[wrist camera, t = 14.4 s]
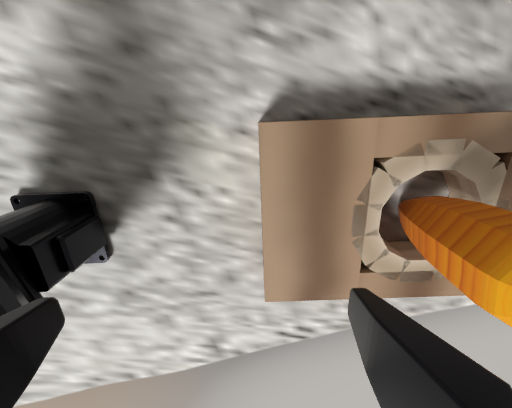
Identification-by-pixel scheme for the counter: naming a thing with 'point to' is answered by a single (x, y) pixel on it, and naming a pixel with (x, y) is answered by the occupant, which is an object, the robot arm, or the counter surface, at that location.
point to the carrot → (465, 247)
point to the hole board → (367, 197)
